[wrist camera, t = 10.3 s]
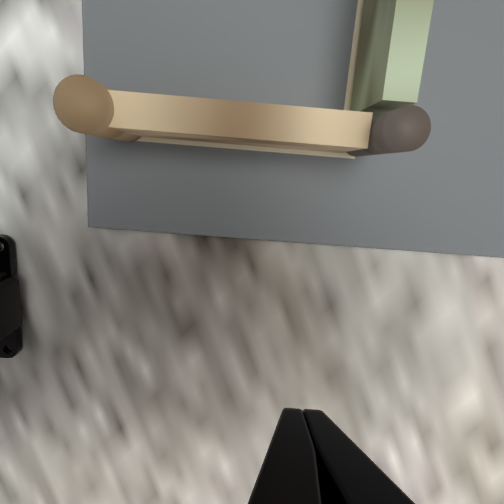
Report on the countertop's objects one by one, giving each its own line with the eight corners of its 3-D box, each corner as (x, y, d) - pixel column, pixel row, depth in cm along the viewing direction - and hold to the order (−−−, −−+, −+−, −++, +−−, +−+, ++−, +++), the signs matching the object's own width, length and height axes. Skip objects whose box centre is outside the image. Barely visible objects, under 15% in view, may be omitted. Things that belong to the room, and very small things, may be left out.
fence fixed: (107, 141, 16) (41, 128, 11) (106, 99, 16) (37, 65, 11) (368, 162, 17) (425, 159, 12) (374, 121, 16) (436, 100, 11)
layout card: (91, 225, 18) (87, 227, 17) (79, -274, 13) (72, -290, 13) (577, 261, 19) (586, 264, 18) (715, -199, 14) (731, -212, 14)
